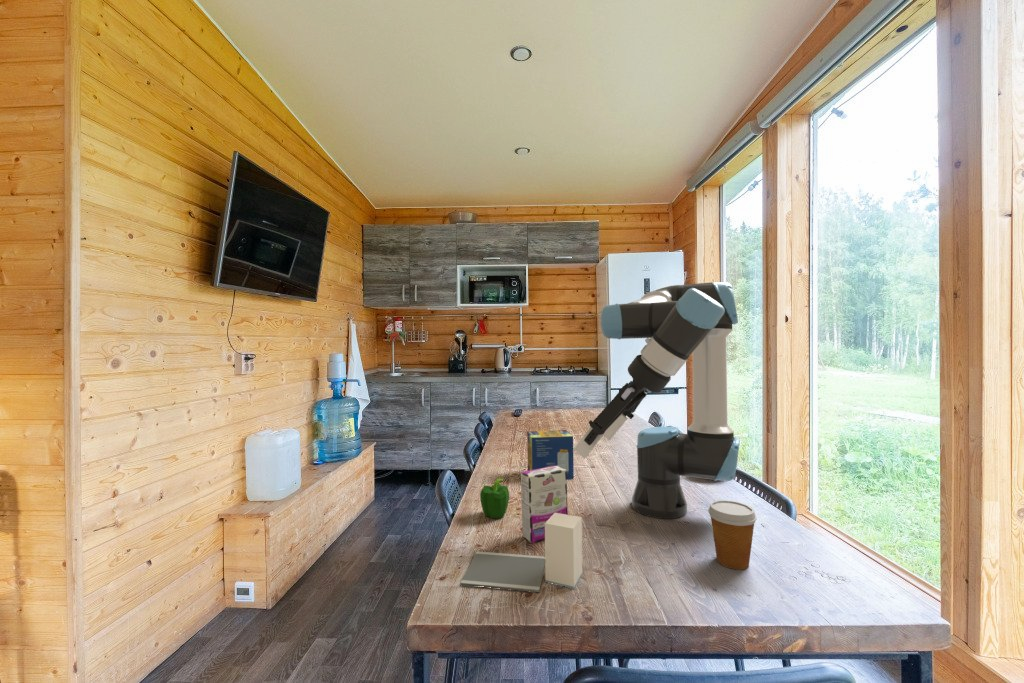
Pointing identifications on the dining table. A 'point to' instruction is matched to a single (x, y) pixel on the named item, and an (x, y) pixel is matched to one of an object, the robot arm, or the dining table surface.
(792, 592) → the dining table surface
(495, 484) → the bell pepper
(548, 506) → the candy bar box
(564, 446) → the protein box
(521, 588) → the gray plastic tray
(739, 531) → the disposable coffee cup
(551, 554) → the cream block
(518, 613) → the dining table surface
